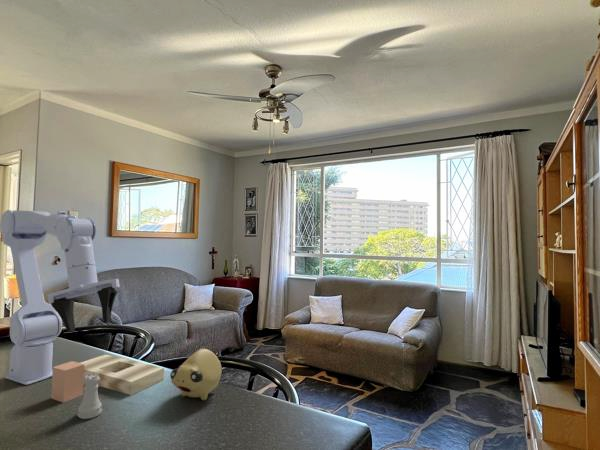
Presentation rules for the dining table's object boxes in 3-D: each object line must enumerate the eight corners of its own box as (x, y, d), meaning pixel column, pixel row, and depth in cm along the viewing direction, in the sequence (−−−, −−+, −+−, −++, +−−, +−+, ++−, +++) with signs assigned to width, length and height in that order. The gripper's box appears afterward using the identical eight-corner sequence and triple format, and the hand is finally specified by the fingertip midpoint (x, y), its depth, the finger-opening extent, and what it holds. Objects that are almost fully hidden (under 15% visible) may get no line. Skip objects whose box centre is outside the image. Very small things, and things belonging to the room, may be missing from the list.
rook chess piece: (90, 421, 71) (92, 380, 71) (71, 418, 72) (73, 378, 72) (107, 410, 75) (108, 372, 75) (89, 408, 76) (90, 370, 76)
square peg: (51, 398, 80) (52, 367, 80) (70, 391, 84) (72, 361, 84) (63, 402, 78) (65, 370, 78) (83, 394, 82) (84, 364, 82)
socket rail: (70, 377, 91) (70, 365, 92) (105, 365, 101) (105, 354, 101) (130, 395, 82) (131, 382, 82) (163, 379, 91) (164, 367, 92)
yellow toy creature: (160, 405, 78) (162, 356, 78) (192, 384, 89) (194, 341, 90) (199, 413, 75) (201, 362, 75) (227, 390, 86) (229, 345, 87)
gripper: (37, 273, 77) (44, 336, 74) (107, 258, 80) (116, 318, 77) (54, 276, 84) (61, 334, 81) (119, 262, 86) (127, 317, 84)
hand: (89, 326), depth 80 cm, fingers open, 7 cm apart
